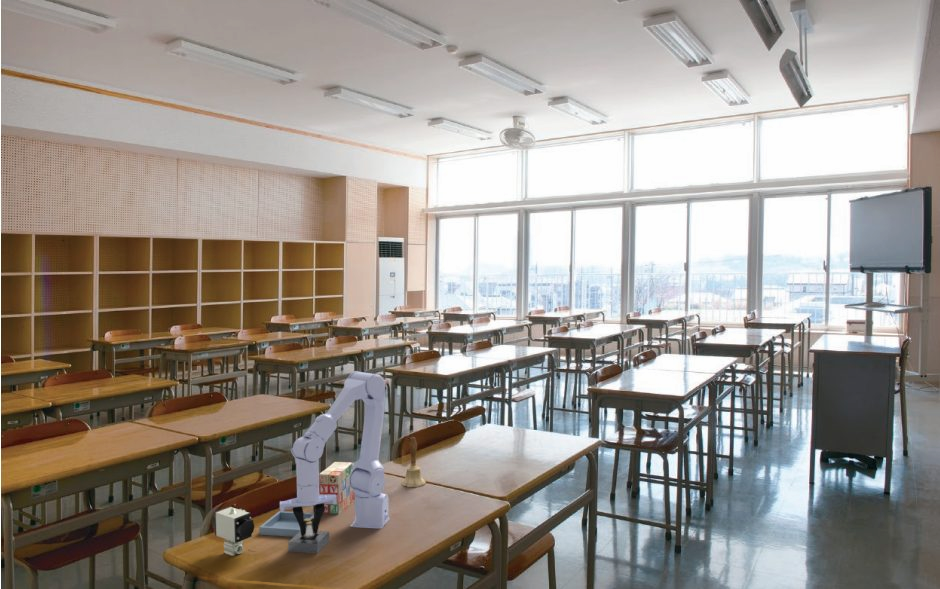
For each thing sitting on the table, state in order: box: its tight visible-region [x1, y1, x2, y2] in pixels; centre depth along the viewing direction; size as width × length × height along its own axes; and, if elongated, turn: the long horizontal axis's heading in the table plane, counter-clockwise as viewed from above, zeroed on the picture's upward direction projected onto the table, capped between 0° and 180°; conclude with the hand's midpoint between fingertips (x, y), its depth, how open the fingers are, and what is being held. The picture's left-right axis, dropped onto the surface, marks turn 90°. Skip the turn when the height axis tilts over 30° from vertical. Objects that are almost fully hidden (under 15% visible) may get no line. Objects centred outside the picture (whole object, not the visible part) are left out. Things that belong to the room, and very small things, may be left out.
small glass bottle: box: [303, 518, 315, 540], centre depth 173 cm, size 3×3×7 cm
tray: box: [258, 510, 314, 538], centre depth 186 cm, size 12×12×2 cm
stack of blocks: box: [319, 461, 355, 515], centre depth 208 cm, size 21×6×12 cm, turn 169°
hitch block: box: [287, 530, 330, 554], centre depth 174 cm, size 8×8×3 cm
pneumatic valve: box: [211, 506, 255, 556], centre depth 171 cm, size 6×12×12 cm, turn 57°
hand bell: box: [401, 436, 426, 488], centre depth 224 cm, size 8×8×16 cm
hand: (309, 533), depth 173 cm, fingers closed on small glass bottle, 3 cm apart
